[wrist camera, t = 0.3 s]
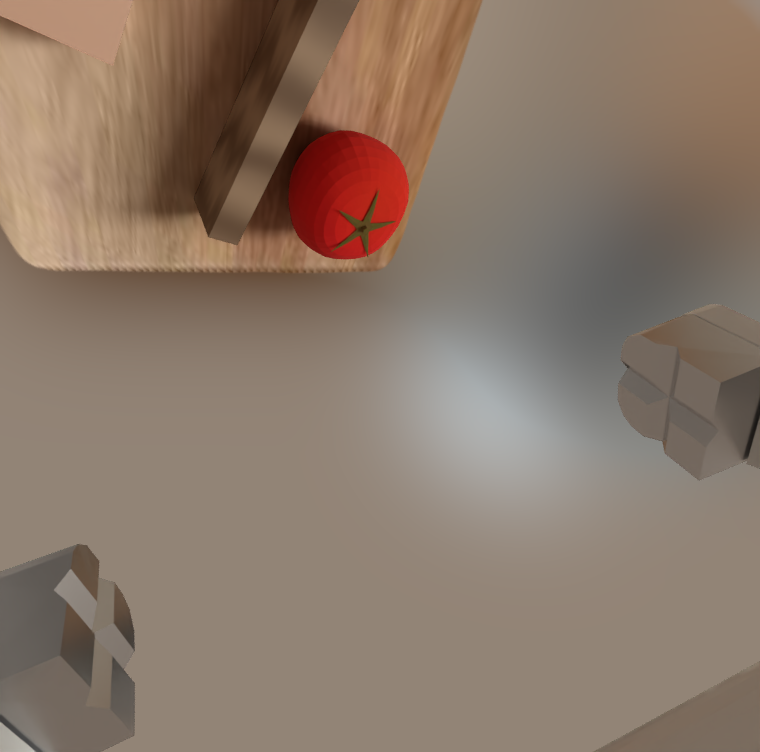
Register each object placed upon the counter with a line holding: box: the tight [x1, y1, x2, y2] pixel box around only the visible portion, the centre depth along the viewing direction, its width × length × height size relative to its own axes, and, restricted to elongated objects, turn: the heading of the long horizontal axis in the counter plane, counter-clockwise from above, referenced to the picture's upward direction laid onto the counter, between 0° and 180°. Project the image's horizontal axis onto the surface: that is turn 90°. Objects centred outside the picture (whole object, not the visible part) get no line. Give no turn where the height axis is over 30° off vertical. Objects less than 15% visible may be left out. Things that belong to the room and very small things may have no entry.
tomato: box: [288, 130, 409, 259], centre depth 59 cm, size 12×13×11 cm
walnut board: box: [194, 0, 359, 245], centre depth 50 cm, size 30×3×7 cm, turn 146°
